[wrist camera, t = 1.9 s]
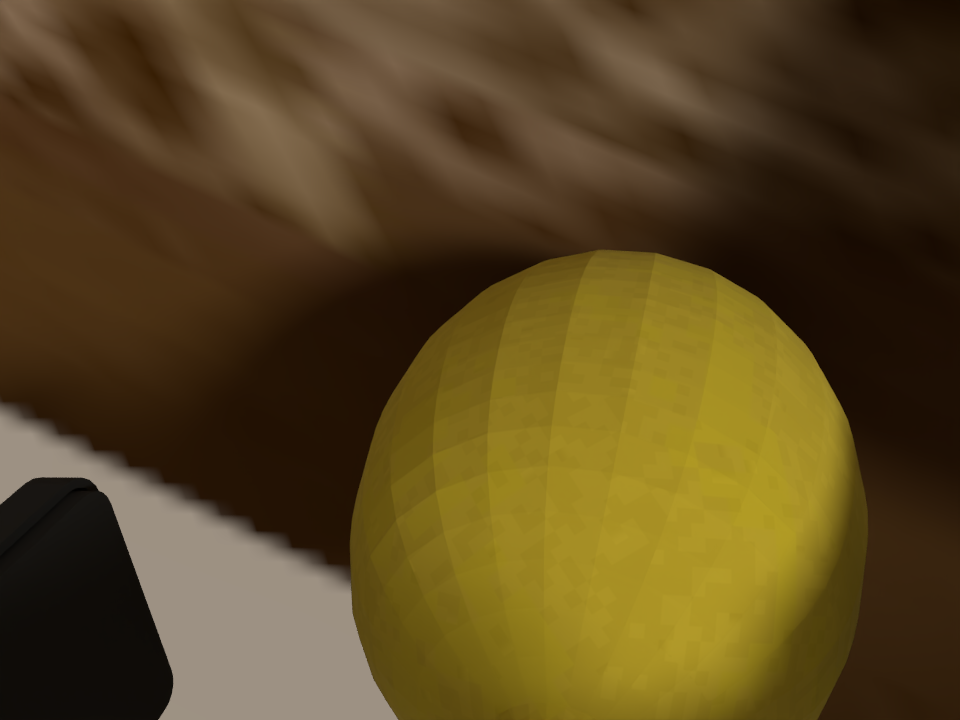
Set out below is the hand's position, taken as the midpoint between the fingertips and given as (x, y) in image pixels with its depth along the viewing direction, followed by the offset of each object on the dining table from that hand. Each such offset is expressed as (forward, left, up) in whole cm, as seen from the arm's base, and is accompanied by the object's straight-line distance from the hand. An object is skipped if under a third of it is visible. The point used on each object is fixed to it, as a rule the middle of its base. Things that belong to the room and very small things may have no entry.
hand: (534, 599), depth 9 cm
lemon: (-1, 0, -6) cm, 6 cm away
